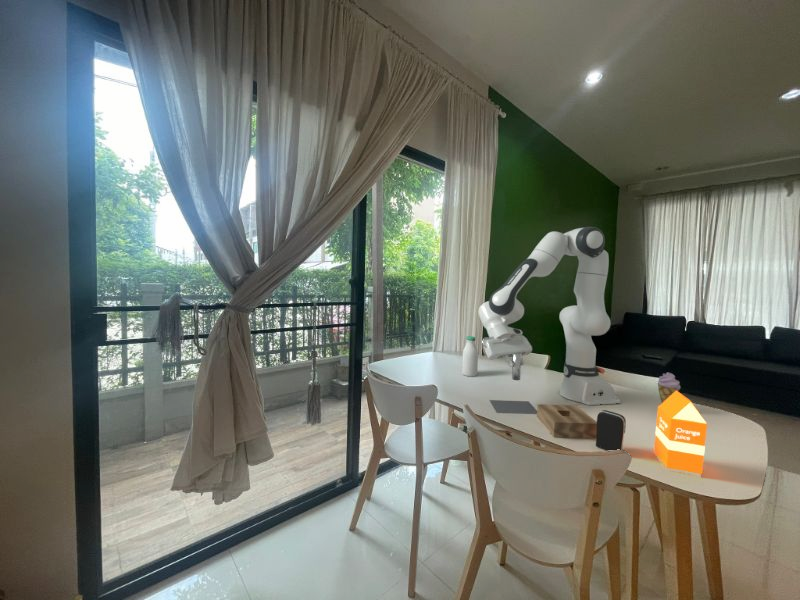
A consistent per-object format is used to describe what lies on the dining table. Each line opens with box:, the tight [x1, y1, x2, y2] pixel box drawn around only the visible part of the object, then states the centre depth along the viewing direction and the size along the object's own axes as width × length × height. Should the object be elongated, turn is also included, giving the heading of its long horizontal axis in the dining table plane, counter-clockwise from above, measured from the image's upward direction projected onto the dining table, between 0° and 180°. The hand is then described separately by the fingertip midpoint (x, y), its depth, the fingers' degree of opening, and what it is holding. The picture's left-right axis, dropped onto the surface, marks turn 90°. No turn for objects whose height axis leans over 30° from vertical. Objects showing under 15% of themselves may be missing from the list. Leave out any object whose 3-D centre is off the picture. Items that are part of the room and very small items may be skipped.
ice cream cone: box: [657, 372, 681, 404], centre depth 123 cm, size 7×6×15 cm
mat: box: [489, 399, 537, 415], centre depth 124 cm, size 16×12×1 cm
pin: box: [511, 353, 522, 381], centre depth 123 cm, size 3×3×10 cm
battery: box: [595, 409, 627, 451], centre depth 95 cm, size 7×4×11 cm, turn 42°
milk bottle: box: [461, 335, 479, 378], centre depth 164 cm, size 8×8×20 cm
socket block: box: [536, 403, 597, 439], centre depth 109 cm, size 14×14×5 cm
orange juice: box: [653, 390, 708, 475], centre depth 87 cm, size 8×9×20 cm
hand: (517, 365), depth 122 cm, fingers closed on pin, 3 cm apart
